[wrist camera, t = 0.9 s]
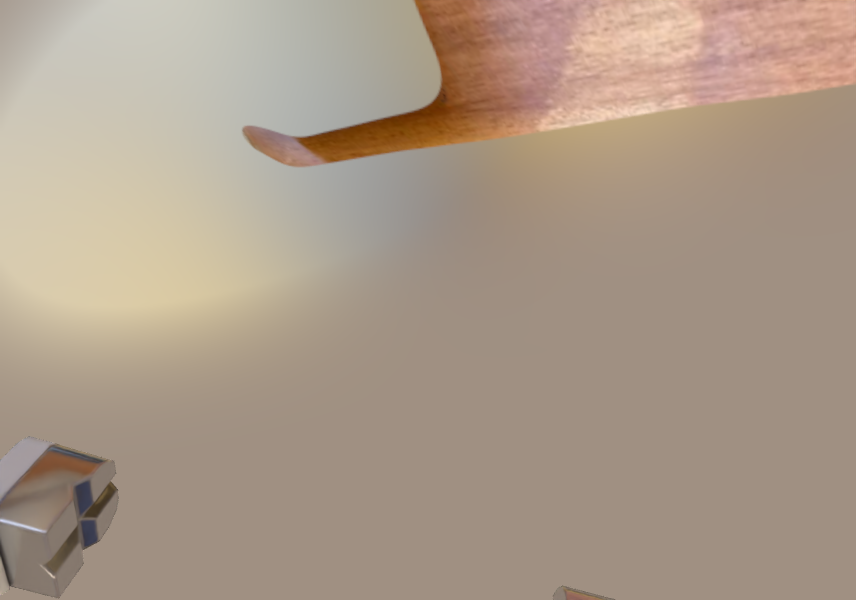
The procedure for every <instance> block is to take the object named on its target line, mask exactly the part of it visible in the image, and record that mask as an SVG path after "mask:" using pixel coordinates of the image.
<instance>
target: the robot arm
mask: <svg viewBox="0 0 856 600" xmlns="http://www.w3.org/2000/svg"><path fill="white" fill-rule="evenodd" d="M115 474H116V470H115V463H114V461H112V460H109V459H105V458H102V457H98V456H95V455H92V454H88V453H85V452H81V451H78V450H75V449H71V448H68V447H64V446H61V445H59V444H56V443H52V442H48V441H44V440H41V439H37V438H34V437H30V436H29V437H27V438H25V439H23V440H21V441H20V442H18V443H17V444H16V445H15V446H14V447H13V448H12V449H11V450H10V451H9V452H8V453H7V454H6V455H5V456H4V457H3V458H2V459H1V460H0V595H2V594H4V593H5V592H7V591H8V590H10V586H11V587H15V588H19V589H23V590H27V591H31V592H35V593H39V594H43V595H47V596H51V597H55V598H60V596H61V595H62V593H63V592H64V590H65V589H66V588H67V586H68V585H69V584H70V582H71V581H72V579H73V578H74V577H75V575H76V573H77V572H78V571H79V570H80V568H81V567H82V565H83V550H84V549H86V548H88V547H90V546H91V545H93V544H95V543H97V542H99V541H100V539H101V538H102V537H103V535H104V534H105V532H106V531H107V529H108V528H109V526H110V524H111V521H112V519H113V517H114V515H115V512H116V510H117V505H118V489H117V488H116V487H115V486H114V485H113V483H112V482H111V480H112V478H113V477H114V476H115ZM553 600H615V599H611V598H608V597H604V596H600V595H596V594H592V593H588V592H584V591H581V590H576V589H573V588H569V587H565V586H561V587H559V588H558V589H557V590H556V592H555V593H554V595H553Z"/></svg>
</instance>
